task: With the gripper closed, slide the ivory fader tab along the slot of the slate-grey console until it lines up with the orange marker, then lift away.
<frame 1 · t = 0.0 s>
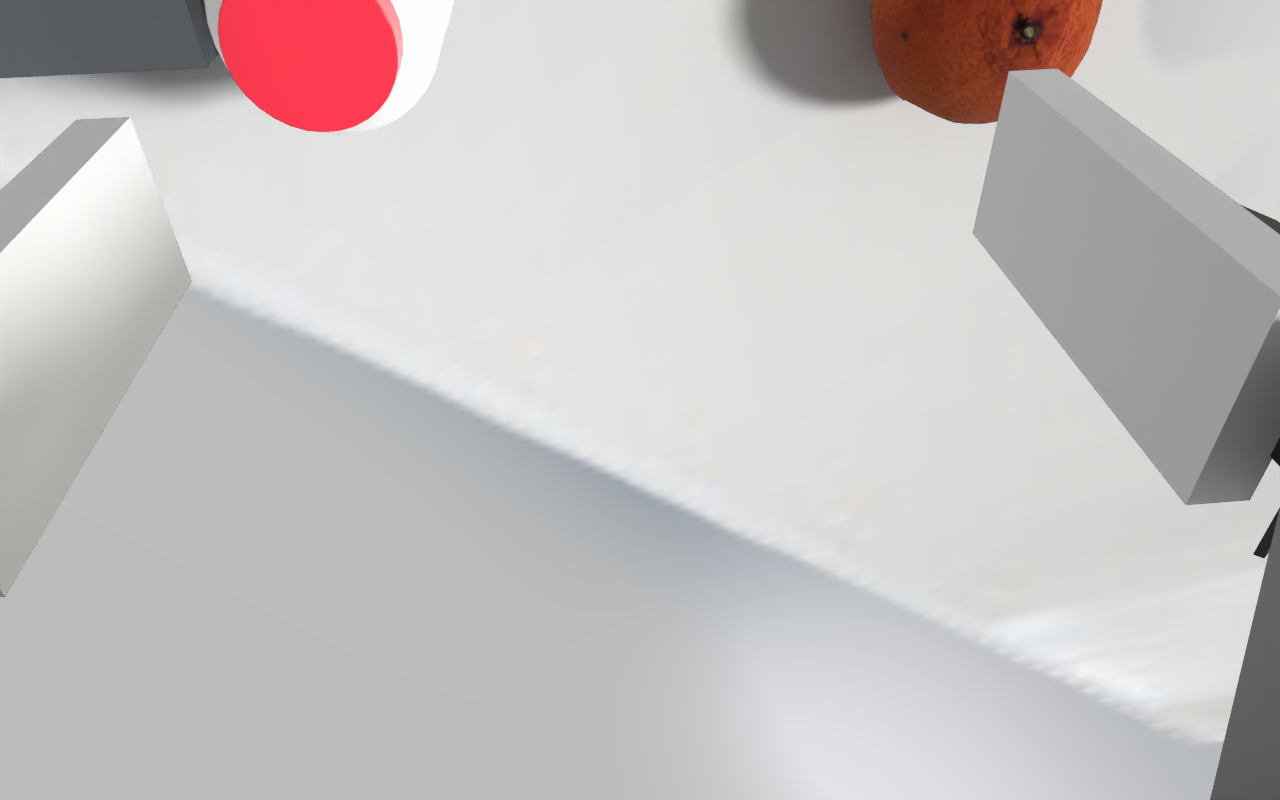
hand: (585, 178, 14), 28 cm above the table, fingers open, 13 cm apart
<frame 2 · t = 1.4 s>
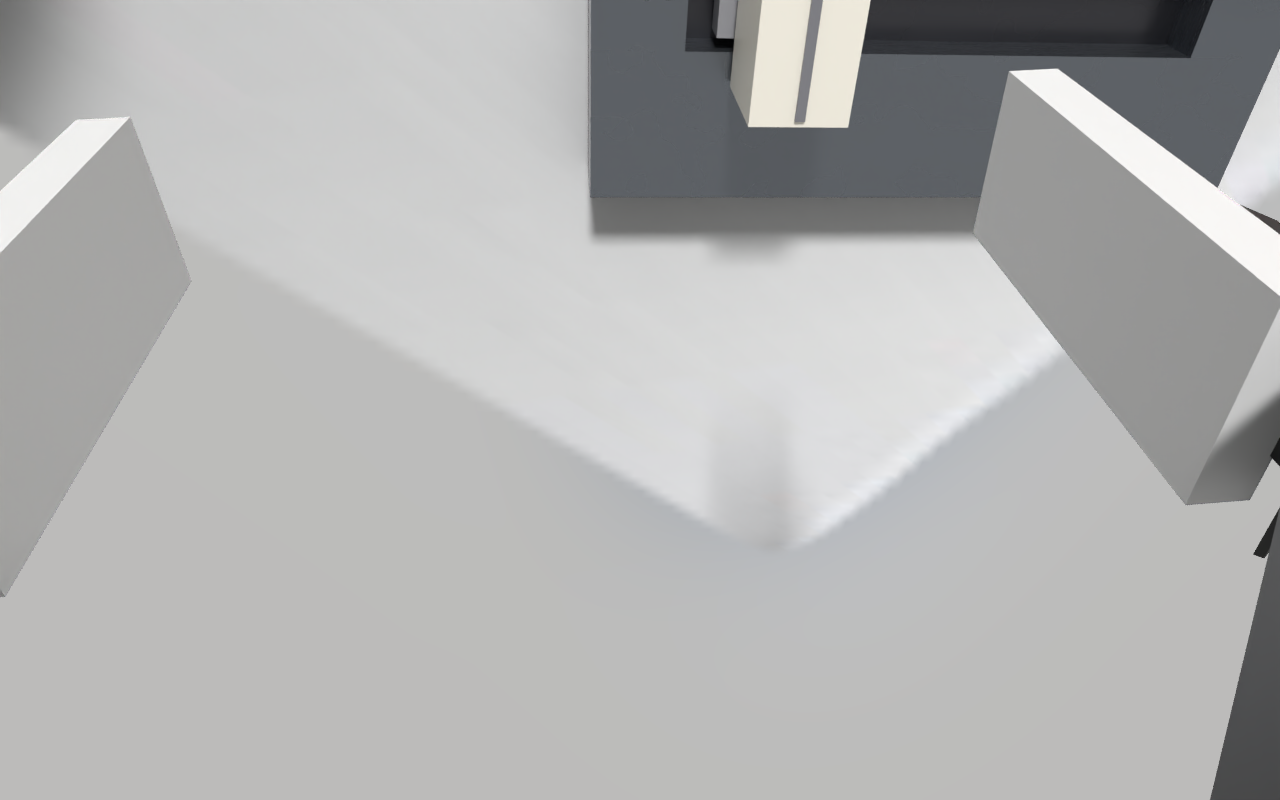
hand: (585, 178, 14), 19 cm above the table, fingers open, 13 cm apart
fader: (792, 15, 27), point 4 cm above the table, slide at -5.5 cm
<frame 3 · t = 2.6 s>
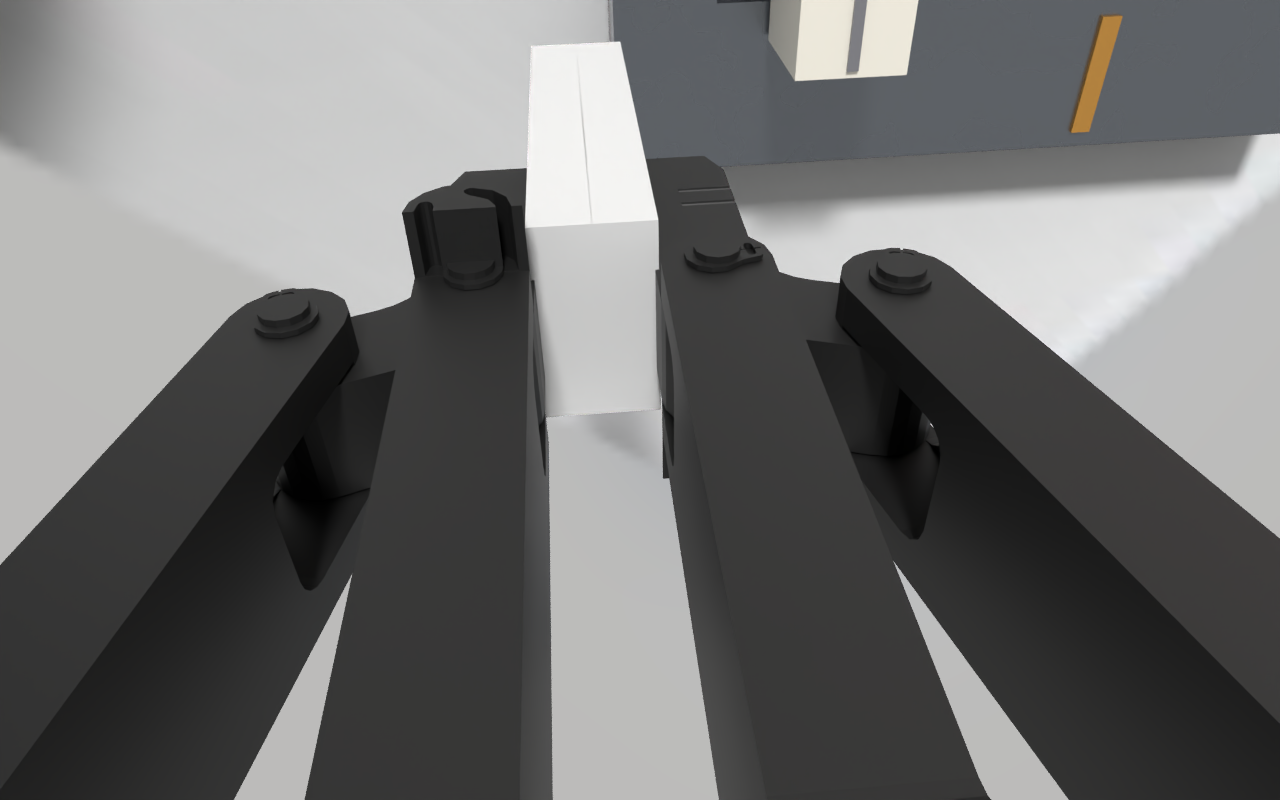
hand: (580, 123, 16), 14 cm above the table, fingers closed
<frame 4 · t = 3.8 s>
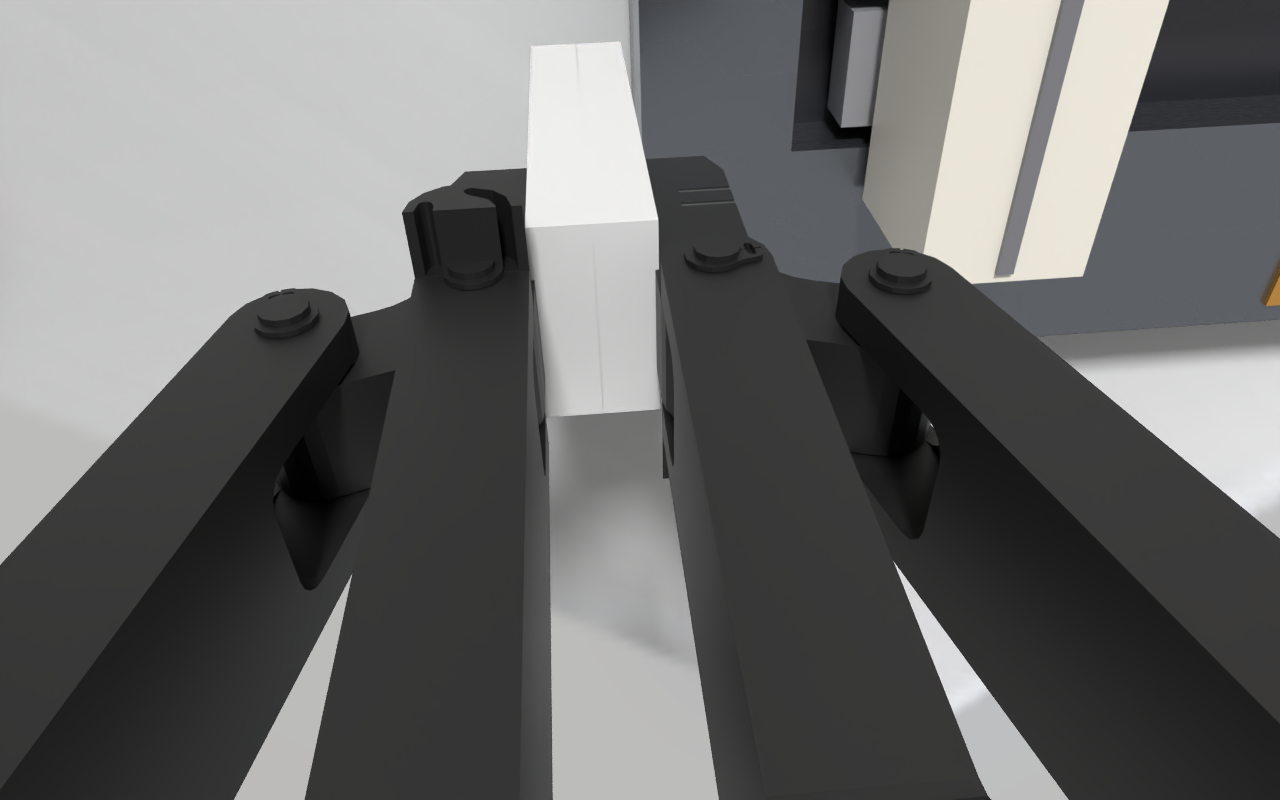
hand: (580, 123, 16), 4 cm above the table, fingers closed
console: (1158, 16, 20), on the table
fader: (977, 92, 17), point 4 cm above the table, slide at -5.5 cm
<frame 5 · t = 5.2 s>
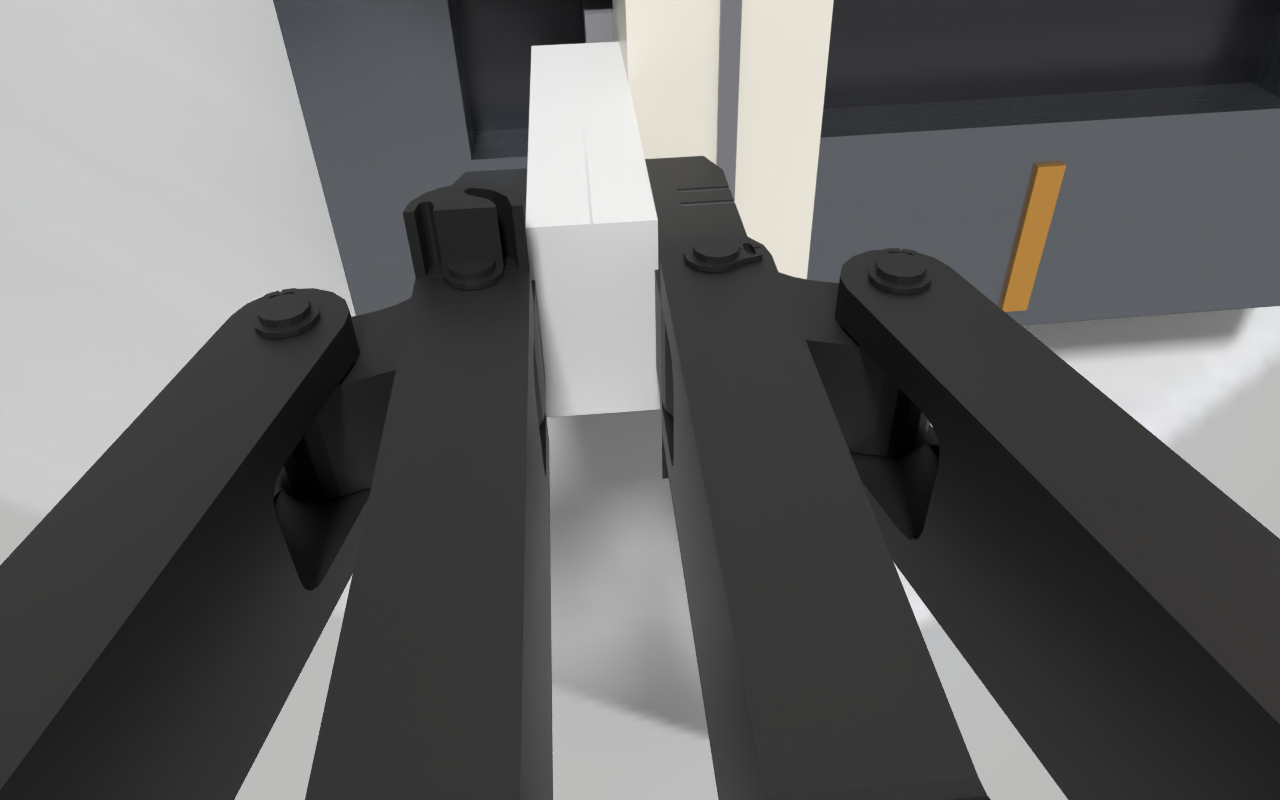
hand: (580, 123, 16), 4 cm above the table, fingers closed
console: (867, 20, 20), on the table
fader: (703, 95, 16), point 4 cm above the table, slide at -4.1 cm, touching gripper
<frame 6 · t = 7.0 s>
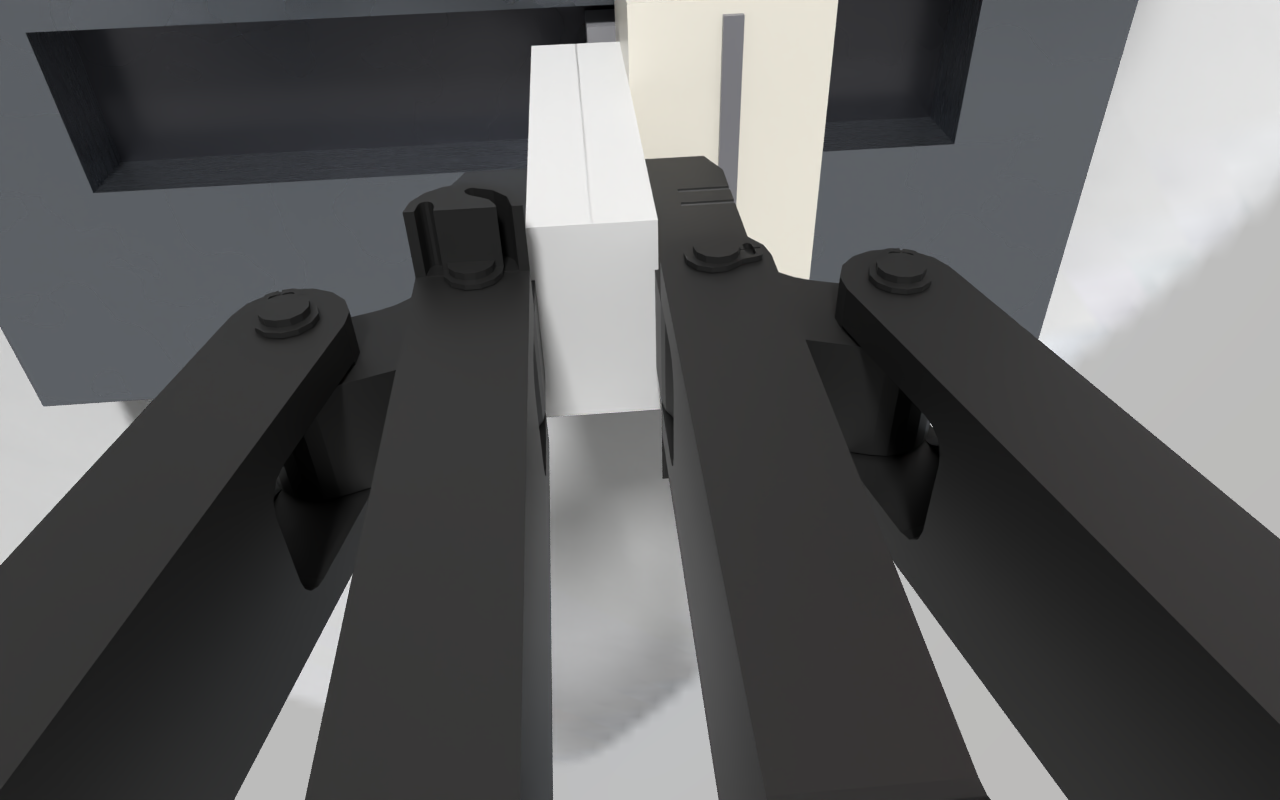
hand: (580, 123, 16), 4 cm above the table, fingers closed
console: (528, 50, 19), on the table
fader: (705, 109, 16), point 4 cm above the table, slide at 3.2 cm, touching gripper
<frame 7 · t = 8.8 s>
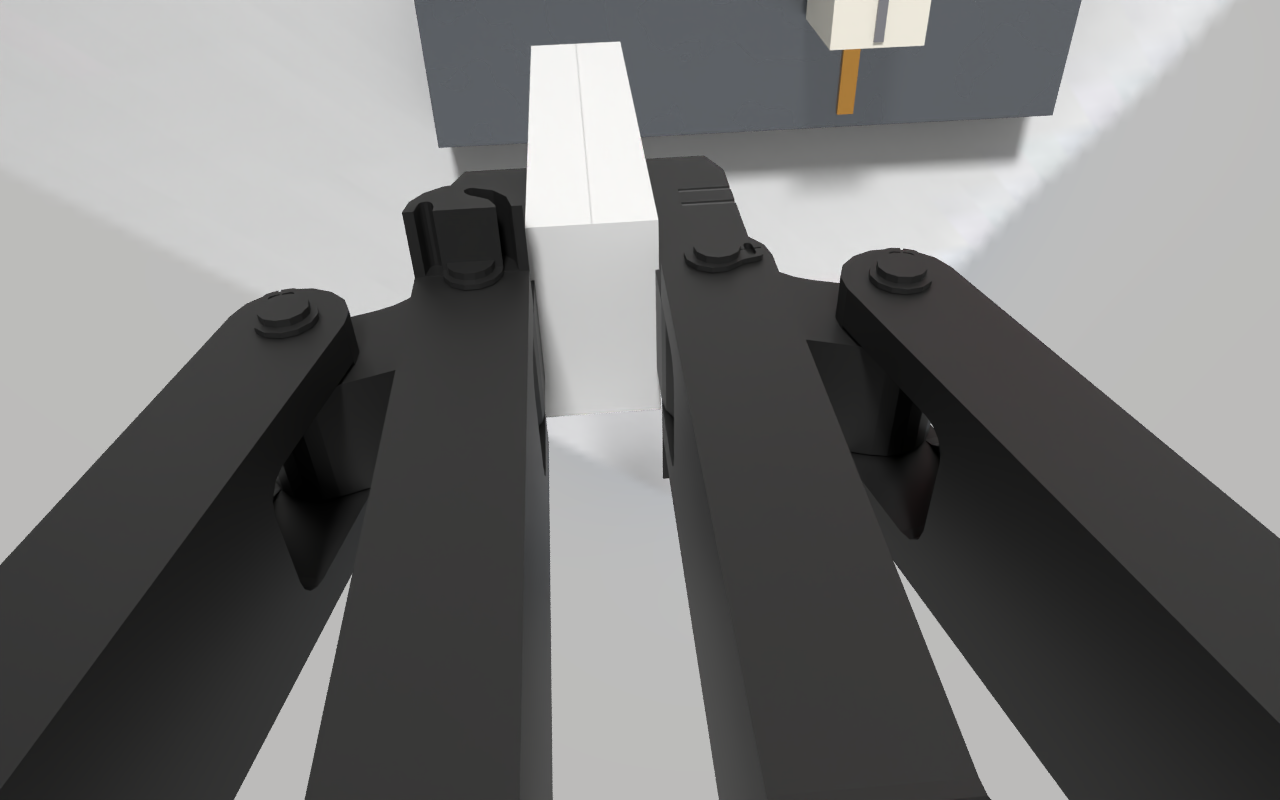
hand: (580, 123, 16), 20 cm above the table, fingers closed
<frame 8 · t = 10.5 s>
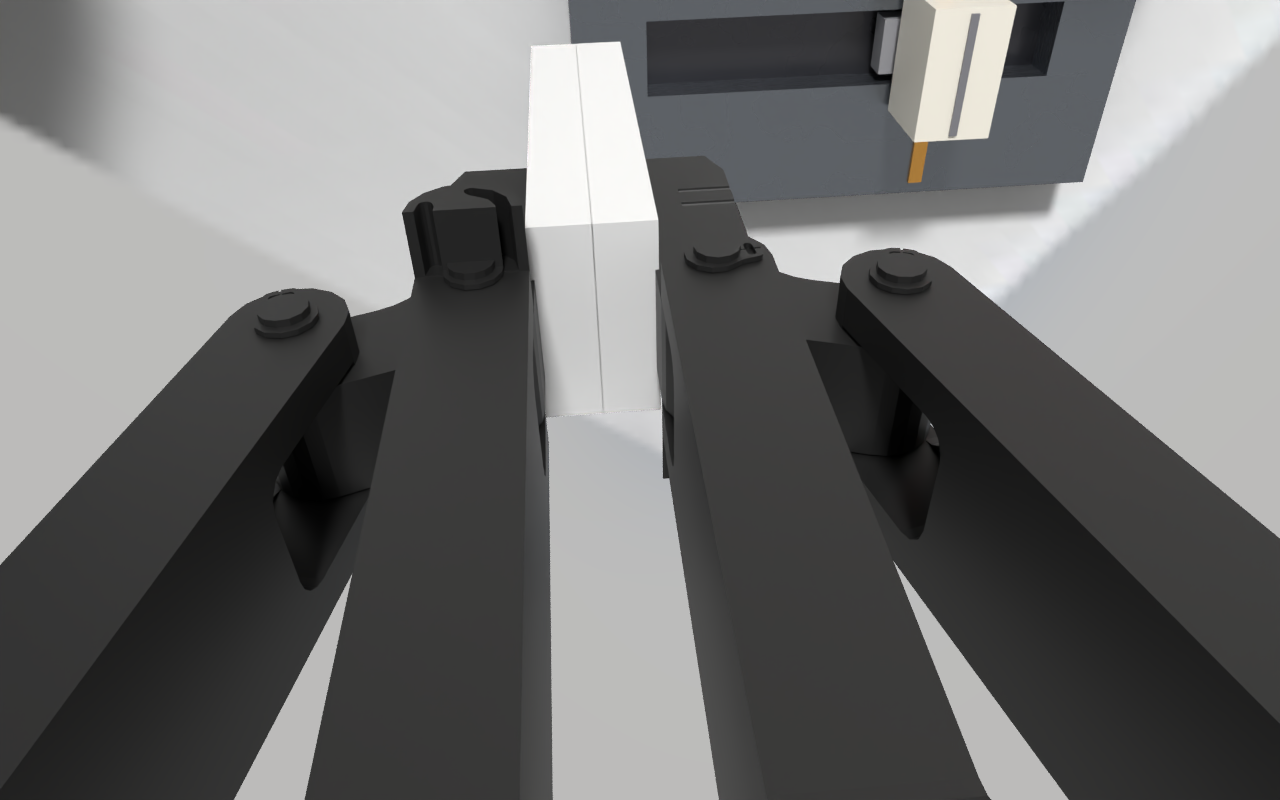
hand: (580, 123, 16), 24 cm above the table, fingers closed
console: (838, 31, 40), on the table
fader: (941, 56, 37), point 4 cm above the table, slide at 3.2 cm
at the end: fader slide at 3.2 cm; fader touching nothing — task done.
